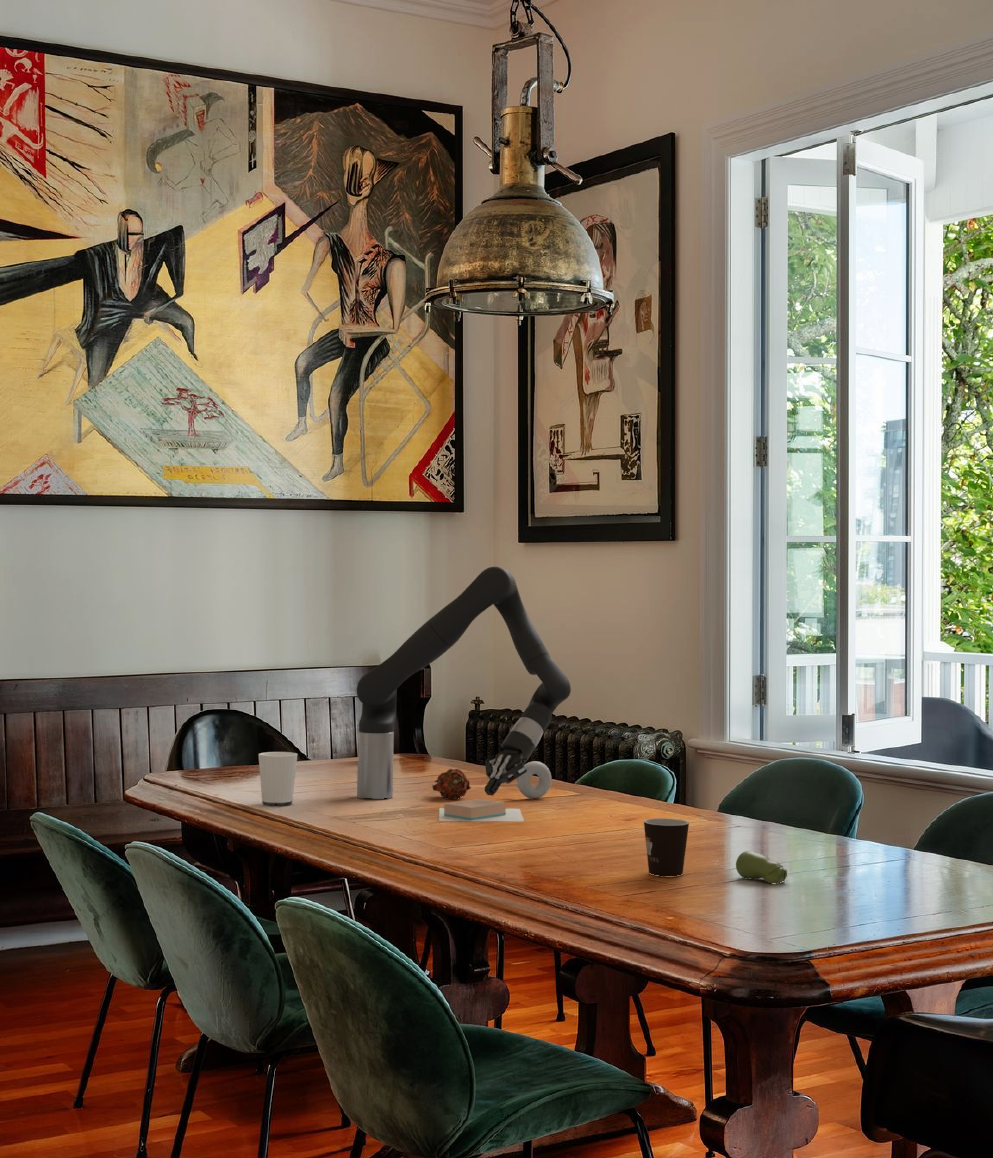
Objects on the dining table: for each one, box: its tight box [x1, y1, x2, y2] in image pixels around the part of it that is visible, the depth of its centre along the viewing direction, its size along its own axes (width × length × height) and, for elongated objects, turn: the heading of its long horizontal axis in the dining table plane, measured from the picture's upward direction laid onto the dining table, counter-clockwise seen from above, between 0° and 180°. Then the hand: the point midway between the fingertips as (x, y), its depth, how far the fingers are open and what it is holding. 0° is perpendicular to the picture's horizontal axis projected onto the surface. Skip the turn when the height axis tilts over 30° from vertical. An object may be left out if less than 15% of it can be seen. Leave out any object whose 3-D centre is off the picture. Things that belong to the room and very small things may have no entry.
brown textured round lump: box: [432, 768, 472, 800], centre depth 360 cm, size 8×8×12 cm
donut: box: [516, 760, 552, 800], centre depth 361 cm, size 10×3×10 cm, turn 116°
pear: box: [735, 850, 788, 884], centre depth 257 cm, size 6×5×10 cm
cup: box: [258, 751, 298, 807], centre depth 345 cm, size 10×10×13 cm
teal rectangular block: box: [443, 798, 507, 820], centre depth 328 cm, size 3×9×12 cm
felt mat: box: [438, 807, 525, 823], centre depth 330 cm, size 20×20×1 cm
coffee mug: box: [643, 817, 690, 876], centre depth 263 cm, size 12×9×10 cm
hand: (488, 793), depth 331 cm, fingers closed
